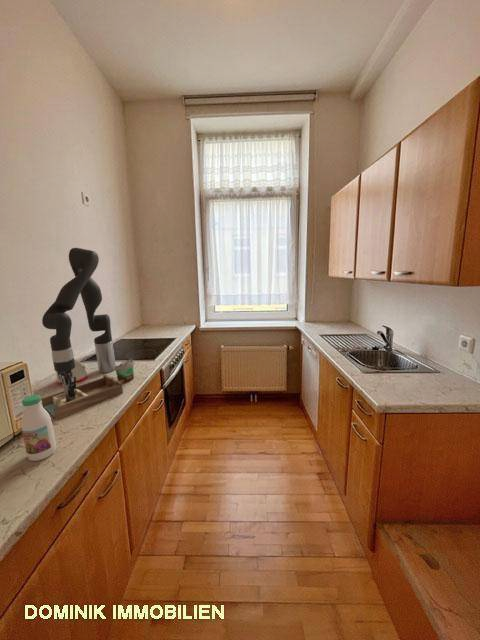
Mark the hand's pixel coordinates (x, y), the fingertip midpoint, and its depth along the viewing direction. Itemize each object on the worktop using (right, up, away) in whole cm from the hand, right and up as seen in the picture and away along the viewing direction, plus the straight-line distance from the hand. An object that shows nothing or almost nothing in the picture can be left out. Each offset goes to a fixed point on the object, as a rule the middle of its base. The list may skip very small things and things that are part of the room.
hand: (70, 395), depth 117 cm
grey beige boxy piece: (0, -3, +1) cm, 3 cm away
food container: (+15, +1, +26) cm, 30 cm away
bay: (+4, -4, +5) cm, 7 cm away
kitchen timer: (-16, 0, +28) cm, 33 cm away
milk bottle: (+10, -11, -30) cm, 33 cm away
